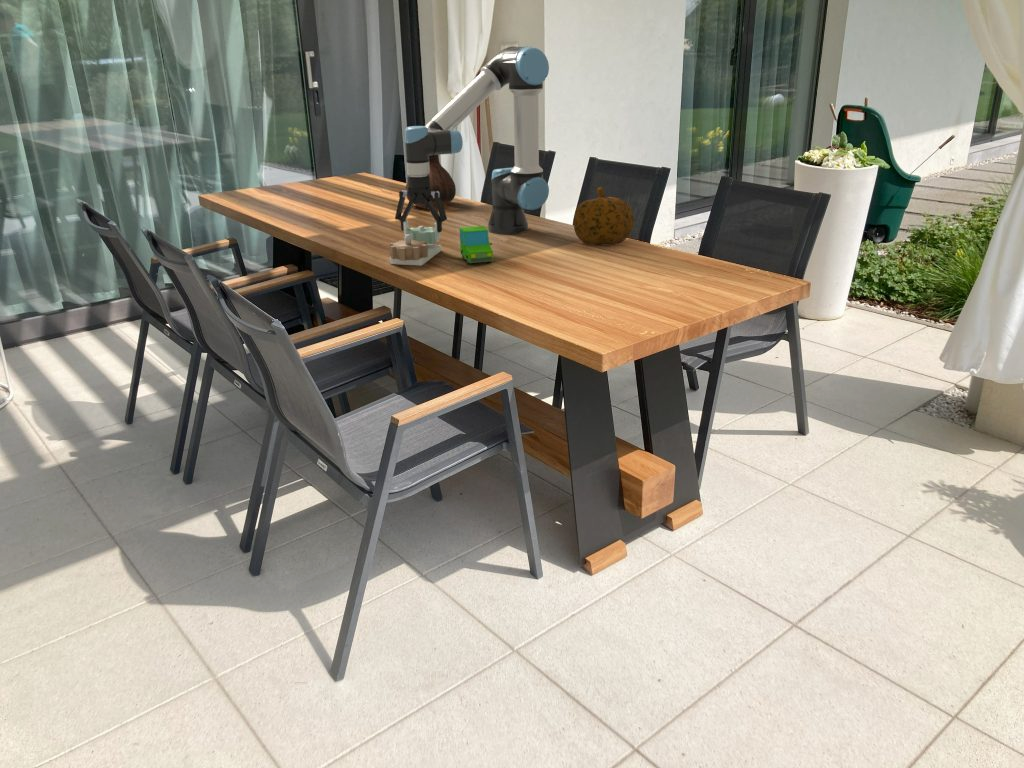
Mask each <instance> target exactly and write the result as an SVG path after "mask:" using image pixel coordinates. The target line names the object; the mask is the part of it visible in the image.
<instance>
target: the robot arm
mask: <svg viewBox="0 0 1024 768" xmlns="http://www.w3.org/2000/svg"><path fill="white" fill-rule="evenodd" d="M549 63H550V62H549V61H548V58H547V56H546V54H545V53H544V52H543V51H542V50H541V49H539V48H536V47H532V46H508V47H505V48H503V49H501V50H500V51H499V52H498V53H496V54H495V55H494V56H493V57H492V58H490V59H489V60H488V61H487V62H486V63H485V64H484V65H483V66H482V67H481V68H480V73H479V74H478V75H477V76H476V77H475V78H474V79H472V81H471V82H470V83H468V85H466V86H465V87H464V88H463V89H462V90H460V92H459V93H457V95H456V96H455V97H454V98H452V99H451V100H450V102H449V103H447V104H446V105H445V106H444V107H443V108H442V109H441V110H440V111H439V112H438V113H437V114H436V115H435V116H434V117H433V118H432V119H431V120H430V121H428V122H427V123H426V124H425V125H412V126H411V125H410V126H407V127H405V129H404V147H405V159H406V162H405V163H406V174H407V175H408V176H407V180H406V181H407V182H408V190H407V191H406V190H404V189H402V190H400V191H399V192H398V195H399V199H398V204H397V207H396V208H397V209H396V212H395V215H394V219H395V220H398V221H399V222H400V229H401V231H403V236H404V237H403V238H404V239H403V240H404V241H405V235H406V230H409V228H410V227H409V220H408V219H407V218H408V216H409V214H410V212H411V210H412V208H413V207H414V205H415V204H417V203H420V204H425V205H426V206H427V207H428V211H429V212H430V214H431V215H432V217H433V218H434V220H435V222H434V223H433V225H434V229H435V243H439V242H441V237H440V236H441V233H442V231H443V222H445V221H447V219H448V217H447V214H446V211H445V209H444V208H445V207H443V205H442V202H441V199H440V192H439V191H437V192H432V191H431V188H430V176H429V175H428V174H429V173H430V169H429V156H430V155H453V154H459V153H460V152H461V151H462V149H463V146H464V145H463V143H464V141H463V137H462V134H461V132H460V131H459V130H457V129H456V128H457V127H458V126H459V125H460V124H461V123H462V122H463V121H464V120H465V119H466V118H467V117H468V116H470V114H471V113H473V112H474V111H475V110H476V109H477V108H478V107H480V105H481V104H482V103H483V102H484V101H485V100H486V99H488V98H489V97H490V96H491V94H492V93H494V92H495V91H500V90H502V88H503V87H505V86H506V85H508V90H509V92H511V93H512V95H513V135H514V136H513V138H514V139H513V140H514V141H513V143H514V144H513V145H514V166H513V167H505V168H496V169H493V170H492V173H491V181H490V182H491V199H492V201H491V203H492V211H491V213H490V216H489V220H488V223H487V227H488V229H487V230H488V232H490V233H492V234H493V233H494V234H497V235H498V234H499V235H514V234H521V233H525V232H527V231H529V223H528V219H527V216H526V214H525V210H529V211H532V210H533V211H534V210H537V209H540V208H541V207H543V205H544V204H545V203H546V202H547V200H548V197H549V196H550V195H549V194H550V186H549V184H548V182H547V181H546V180H545V179H544V169H543V168H542V167H541V166H540V163H539V162H540V160H539V159H540V153H539V152H540V150H539V148H540V147H539V146H540V144H539V141H540V140H539V139H540V138H539V137H540V135H539V133H540V132H539V126H540V125H539V95H540V93H541V91H542V90H543V88H544V82H545V80H546V78H547V77H548V75H549V72H550V71H549V70H550V64H549ZM407 194H408V196H409V197H410V201H409V200H408V203H407V205H406V207H405V209H404V206H405V200H406V198H407ZM431 195H432V196H433V198H434V199H435V203H436V206H437V208H435V207H434V206H433V204H432V201H431V200H430V196H431ZM414 203H415V204H414ZM403 210H404V211H403ZM437 210H438V211H437Z"/></svg>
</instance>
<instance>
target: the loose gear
mask: <svg viewBox="0 0 1024 768" xmlns="http://www.w3.org/2000/svg"><path fill="white" fill-rule="evenodd" d="M407 234H410V235H411V240H418V241H425V242H427V244H431V245H435V244H436V242H435V226H434V227H433V226H429V227H425V226H424V231H419V227H409V230H406V235H407Z"/></svg>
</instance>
